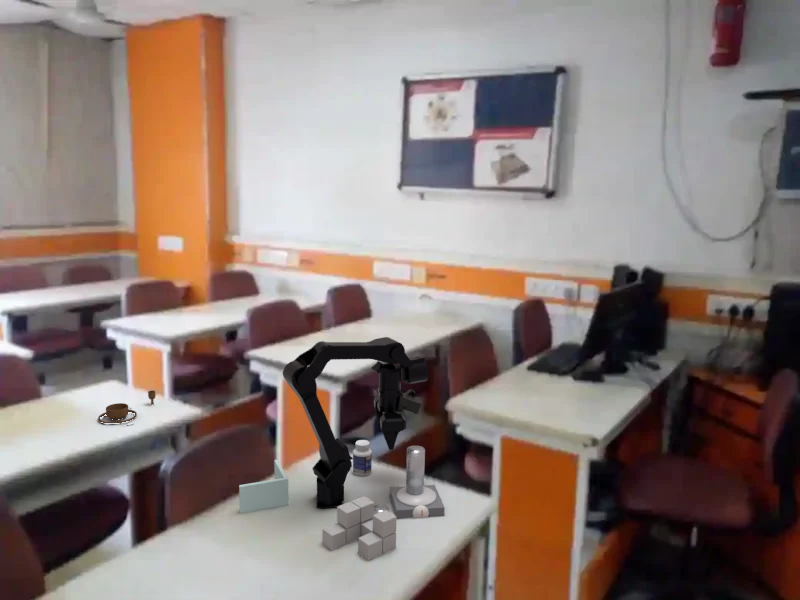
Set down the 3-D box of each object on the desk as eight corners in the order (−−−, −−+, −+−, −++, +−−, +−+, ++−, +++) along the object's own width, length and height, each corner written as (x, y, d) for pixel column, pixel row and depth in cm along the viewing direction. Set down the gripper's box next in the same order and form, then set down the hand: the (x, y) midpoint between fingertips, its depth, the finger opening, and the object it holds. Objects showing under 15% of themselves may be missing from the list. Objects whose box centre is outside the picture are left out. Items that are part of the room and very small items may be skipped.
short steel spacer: (372, 525, 156) (372, 513, 155) (370, 515, 160) (370, 504, 159) (390, 524, 156) (390, 512, 156) (388, 514, 161) (388, 503, 160)
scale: (396, 522, 159) (396, 507, 158) (389, 498, 171) (390, 483, 170) (444, 519, 160) (445, 505, 160) (434, 495, 172) (434, 481, 172)
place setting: (94, 415, 223) (93, 398, 221) (155, 405, 233) (154, 389, 232) (102, 432, 208) (101, 415, 207) (167, 420, 219) (166, 404, 218)
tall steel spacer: (407, 495, 164) (408, 453, 162) (404, 487, 169) (405, 445, 167) (425, 495, 165) (426, 452, 163) (421, 486, 169) (423, 445, 167)
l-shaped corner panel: (278, 485, 175) (277, 459, 174) (288, 506, 164) (288, 479, 163) (232, 493, 171) (232, 466, 169) (240, 515, 160) (239, 487, 158)
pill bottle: (368, 477, 180) (369, 447, 178) (350, 475, 181) (350, 445, 179) (373, 469, 185) (373, 439, 183) (355, 467, 186) (356, 438, 184)
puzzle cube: (322, 544, 148) (322, 512, 146) (363, 526, 155) (364, 495, 154) (353, 568, 139) (353, 534, 137) (396, 548, 147) (396, 516, 145)
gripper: (426, 397, 161) (425, 456, 164) (414, 374, 179) (412, 427, 182) (382, 398, 159) (381, 458, 162) (374, 375, 177) (373, 429, 180)
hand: (388, 442), depth 172 cm, fingers open, 9 cm apart
